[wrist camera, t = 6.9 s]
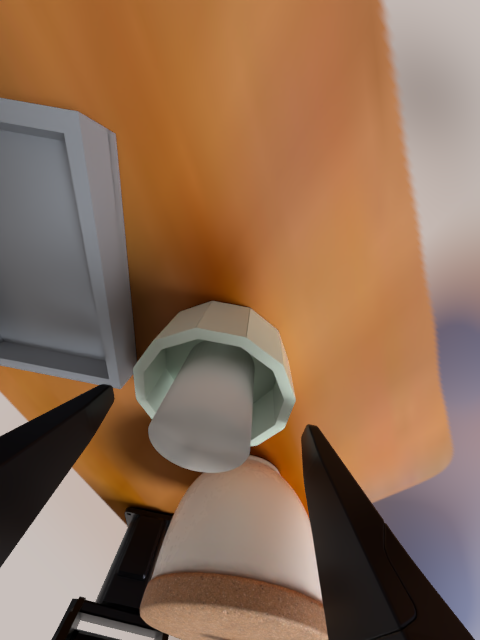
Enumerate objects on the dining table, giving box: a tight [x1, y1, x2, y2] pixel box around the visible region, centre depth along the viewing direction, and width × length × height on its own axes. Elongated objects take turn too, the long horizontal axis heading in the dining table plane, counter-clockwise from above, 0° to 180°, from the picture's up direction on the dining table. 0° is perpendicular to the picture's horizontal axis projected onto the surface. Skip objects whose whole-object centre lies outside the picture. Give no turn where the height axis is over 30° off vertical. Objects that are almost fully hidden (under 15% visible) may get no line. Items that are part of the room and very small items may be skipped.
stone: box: [148, 340, 255, 473], centre depth 10 cm, size 4×4×4 cm
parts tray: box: [0, 98, 137, 389], centre depth 10 cm, size 12×9×2 cm
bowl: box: [133, 301, 296, 446], centre depth 11 cm, size 8×8×3 cm
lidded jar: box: [140, 455, 328, 640], centre depth 13 cm, size 11×11×9 cm
